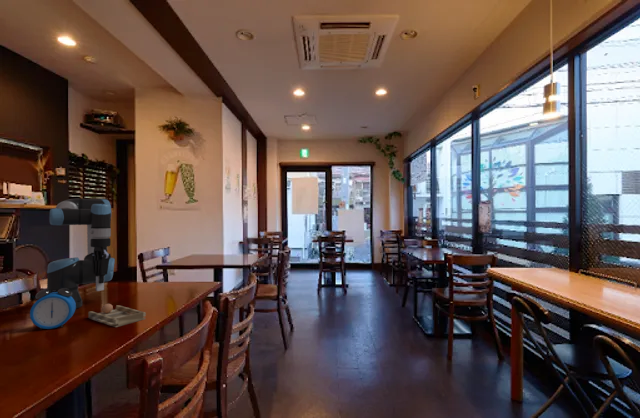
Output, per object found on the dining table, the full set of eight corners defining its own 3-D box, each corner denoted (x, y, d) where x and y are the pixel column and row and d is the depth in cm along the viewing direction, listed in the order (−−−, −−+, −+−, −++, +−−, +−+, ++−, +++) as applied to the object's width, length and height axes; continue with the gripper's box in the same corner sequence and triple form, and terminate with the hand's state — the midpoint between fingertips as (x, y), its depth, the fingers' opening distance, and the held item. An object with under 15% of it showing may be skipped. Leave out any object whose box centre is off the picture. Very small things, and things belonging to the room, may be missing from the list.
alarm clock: (28, 332, 121) (29, 292, 121) (35, 327, 126) (36, 288, 127) (71, 327, 126) (72, 288, 127) (75, 322, 132) (76, 285, 132)
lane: (88, 318, 137) (88, 311, 138) (118, 311, 148) (118, 304, 148) (115, 327, 126) (115, 319, 126) (145, 319, 136) (145, 311, 136)
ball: (100, 313, 140) (100, 304, 140) (109, 311, 144) (110, 302, 144) (104, 314, 138) (104, 305, 138) (114, 312, 142) (114, 303, 142)
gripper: (84, 238, 146) (83, 290, 145) (98, 238, 139) (97, 293, 138) (102, 237, 152) (101, 287, 151) (117, 237, 145) (116, 290, 144)
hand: (99, 290), depth 145 cm, fingers closed
